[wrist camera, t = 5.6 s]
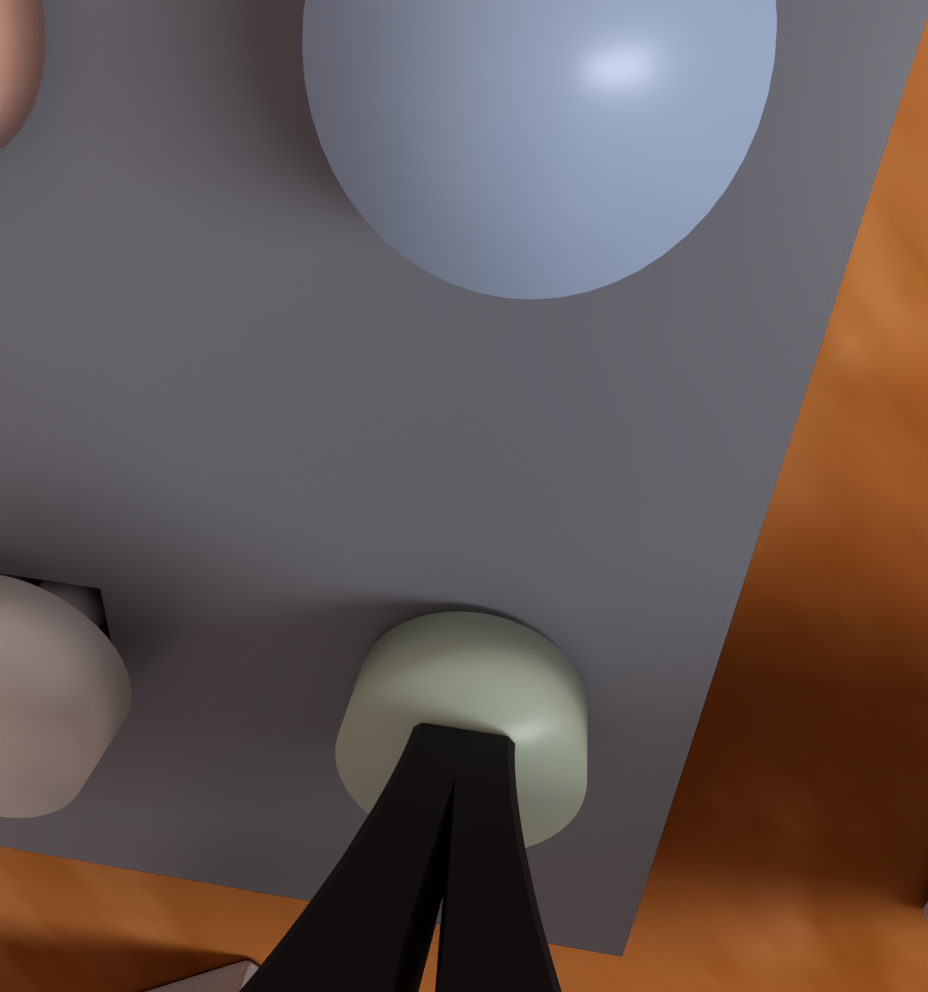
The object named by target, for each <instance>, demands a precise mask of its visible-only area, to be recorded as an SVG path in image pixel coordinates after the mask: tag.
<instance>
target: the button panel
mask: <svg viewBox="0 0 928 992" xmlns="http://www.w3.org/2000/svg"><path fill="white" fill-rule="evenodd" d="M41 1H42V9H43V17H44V26H45V57H44V66H43V74H42V79H41V83H40V87H39V91H38V95H37V98H36V100H35V103H34V105H33V107H32V110H31V112H30V115H29V116H28V118H27V119H26V121H25V123H24V124H23V126H22V127H21V129H20V131H19V132H18V133H17V134H16V135H15V136H14V137H13V138H12V140H11V141H10V142H9V143H8V144H7V145H5V146H4V147H3V148H2V149H0V575H3V576H8V577H12V578H15V579H18V580H21V581H25V582H27V583H30V584H32V585H35V586H37V587H38V586H39V585H40V584H41V583H42V582H43V580H47V581H53V582H60V583H67V584H73V585H80V586H86V587H93V588H100V589H101V594H102V599H103V604H104V609H105V614H106V620H105V621H104V622H103V623H102V625H101V626H100V627H99V629H100V630H101V631H102V632H103V633H104V634H105V635H106V636H107V638H108V639H109V640H110V642H111V643H112V644H113V646H114V647H115V648H116V650H117V652H118V653H119V655H120V657H121V658H122V660H123V662H124V664H125V667H126V669H127V671H128V675H129V678H130V682H131V689H132V701H131V707H130V710H129V713H128V715H127V717H126V719H125V721H124V723H123V724H122V726H121V727H120V729H119V730H118V732H117V734H116V735H115V737H114V738H113V740H112V741H111V743H110V745H109V746H108V748H107V749H106V751H105V752H104V754H103V755H102V757H101V759H100V760H99V762H98V763H97V765H96V766H95V768H94V770H93V771H92V773H91V774H90V776H89V777H88V779H87V781H86V782H85V784H84V785H83V787H82V788H81V790H80V791H79V793H78V794H77V796H76V797H75V798H74V799H73V800H72V801H71V802H70V803H69V804H67V805H66V806H65V807H63V808H61V809H59V810H57V811H55V812H52V813H49V814H46V815H42V816H36V817H28V818H7V817H0V846H1V847H6V848H12V849H18V850H23V851H29V852H35V853H40V854H46V855H52V856H57V857H63V858H68V859H74V860H80V861H85V862H91V863H97V864H102V865H108V866H114V867H119V868H125V869H131V870H136V871H142V872H147V873H153V874H159V875H164V876H170V877H176V878H181V879H187V880H193V881H198V882H204V883H210V884H215V885H221V886H226V887H232V888H238V889H243V890H249V891H255V892H260V893H266V894H272V895H277V896H283V897H289V898H294V899H300V900H305V901H311V900H312V898H313V897H314V896H315V894H316V893H317V891H318V890H319V889H320V887H321V886H322V884H323V883H324V882H325V880H326V879H327V877H328V876H329V875H330V873H331V872H332V870H333V869H334V868H335V866H336V865H337V863H338V862H339V860H340V859H341V857H342V856H343V854H344V853H345V851H346V850H347V848H348V847H349V845H350V844H351V842H352V840H353V839H354V837H355V836H356V834H357V832H358V831H359V829H360V828H361V826H362V824H363V823H364V821H365V820H366V818H367V816H368V814H367V813H366V812H365V811H364V810H363V809H362V808H361V807H360V806H359V805H358V804H357V803H356V801H355V800H354V799H353V798H352V797H351V795H350V794H349V792H348V791H347V789H346V788H345V786H344V784H343V782H342V780H341V778H340V776H339V772H338V769H337V765H336V757H335V748H336V741H337V737H338V734H339V730H340V727H341V725H342V722H343V719H344V716H345V713H346V710H347V707H348V704H349V701H350V698H351V696H352V693H353V690H354V687H355V684H356V681H357V678H358V675H359V672H360V669H361V667H362V664H363V661H364V659H365V657H366V655H367V653H368V652H369V650H370V649H371V648H372V646H373V645H374V644H375V643H376V642H377V641H378V640H379V639H380V638H381V637H382V636H383V635H384V634H386V633H387V632H388V631H390V630H391V629H393V628H394V627H396V626H398V625H400V624H402V623H404V622H406V621H409V620H412V619H414V618H417V617H420V616H424V615H429V614H433V613H441V612H463V611H465V612H476V613H484V614H489V615H494V616H498V617H502V618H505V619H508V620H511V621H514V622H516V623H519V624H521V625H524V626H526V627H528V628H530V629H532V630H534V631H535V632H537V633H539V634H541V635H542V636H544V637H545V638H546V639H548V640H549V641H551V642H552V643H553V644H555V645H556V646H557V647H558V648H559V649H560V650H561V651H562V652H563V653H564V654H565V655H566V656H567V657H568V658H569V660H570V661H571V662H572V663H573V665H574V666H575V668H576V669H577V671H578V673H579V674H580V676H581V679H582V681H583V683H584V686H585V690H586V694H587V700H588V744H587V786H586V794H585V797H584V800H583V803H582V805H581V807H580V809H579V811H578V812H577V814H576V815H575V817H574V818H573V819H572V820H571V821H570V823H569V824H568V825H566V826H565V827H564V828H563V829H562V830H561V831H559V832H558V833H556V834H555V835H553V836H552V837H550V838H548V839H546V840H544V841H542V842H540V843H538V844H535V845H532V846H529V847H526V848H525V849H526V854H527V859H528V864H529V868H530V873H531V878H532V882H533V887H534V892H535V896H536V900H537V905H538V909H539V913H540V917H541V921H542V925H543V928H544V932H545V936H546V939H547V943H548V944H554V945H559V946H565V947H571V948H576V949H582V950H588V951H593V952H599V953H605V954H610V955H616V956H622V955H623V952H624V949H625V946H626V943H627V940H628V937H629V934H630V931H631V928H632V924H633V921H634V918H635V915H636V912H637V909H638V906H639V903H640V900H641V897H642V894H643V891H644V887H645V884H646V881H647V878H648V875H649V872H650V869H651V866H652V863H653V860H654V857H655V854H656V851H657V847H658V844H659V841H660V838H661V835H662V832H663V829H664V826H665V823H666V820H667V817H668V814H669V810H670V807H671V804H672V801H673V798H674V795H675V792H676V789H677V786H678V783H679V780H680V777H681V774H682V770H683V767H684V764H685V761H686V758H687V755H688V752H689V749H690V746H691V743H692V740H693V737H694V733H695V730H696V727H697V724H698V721H699V718H700V715H701V712H702V709H703V706H704V703H705V700H706V697H707V693H708V690H709V687H710V684H711V681H712V678H713V675H714V672H715V669H716V666H717V663H718V660H719V657H720V653H721V650H722V647H723V644H724V641H725V638H726V635H727V632H728V629H729V626H730V623H731V620H732V616H733V613H734V610H735V607H736V604H737V601H738V598H739V595H740V592H741V589H742V586H743V583H744V580H745V576H746V573H747V570H748V567H749V564H750V561H751V558H752V555H753V552H754V549H755V546H756V543H757V539H758V536H759V533H760V530H761V527H762V524H763V521H764V518H765V515H766V512H767V509H768V506H769V503H770V499H771V496H772V493H773V490H774V487H775V484H776V481H777V478H778V475H779V472H780V469H781V466H782V462H783V459H784V456H785V453H786V450H787V447H788V444H789V441H790V438H791V435H792V432H793V429H794V426H795V422H796V419H797V416H798V413H799V410H800V407H801V404H802V401H803V398H804V395H805V392H806V389H807V385H808V382H809V379H810V376H811V373H812V370H813V367H814V364H815V361H816V358H817V355H818V352H819V349H820V345H821V342H822V339H823V336H824V333H825V330H826V327H827V324H828V321H829V318H830V315H831V312H832V309H833V305H834V302H835V299H836V296H837V293H838V290H839V287H840V284H841V281H842V278H843V275H844V272H845V268H846V265H847V262H848V259H849V256H850V253H851V250H852V247H853V244H854V241H855V238H856V235H857V232H858V228H859V225H860V222H861V219H862V216H863V213H864V210H865V207H866V204H867V201H868V198H869V195H870V191H871V188H872V185H873V182H874V179H875V176H876V173H877V170H878V167H879V164H880V161H881V158H882V155H883V151H884V148H885V145H886V142H887V139H888V136H889V133H890V130H891V127H892V124H893V121H894V118H895V114H896V111H897V108H898V105H899V102H900V99H901V96H902V93H903V90H904V87H905V84H906V81H907V78H908V74H909V71H910V68H911V65H912V62H913V59H914V56H915V53H916V50H917V47H918V44H919V41H920V37H921V34H922V31H923V28H924V25H925V22H926V19H927V16H928V0H776V12H777V31H776V47H775V60H774V66H773V71H772V76H771V82H770V87H769V93H768V97H767V100H766V103H765V106H764V109H763V113H762V116H761V119H760V122H759V126H758V129H757V131H756V133H755V135H754V138H753V140H752V142H751V144H750V147H749V149H748V151H747V154H746V156H745V158H744V160H743V162H742V163H741V165H740V167H739V169H738V170H737V172H736V174H735V175H734V177H733V179H732V180H731V182H730V184H729V186H728V187H727V189H726V190H725V191H724V193H723V194H722V195H721V197H720V198H719V199H718V201H717V202H716V203H715V205H714V206H713V207H712V209H711V210H710V211H709V213H708V214H707V215H706V216H705V217H704V218H703V219H702V220H701V221H700V222H699V223H698V224H697V225H696V226H695V227H694V228H693V229H692V231H691V232H690V233H689V234H688V235H687V236H686V237H684V238H683V239H682V240H681V241H680V242H678V243H677V244H676V245H675V246H674V247H672V248H671V249H670V250H669V251H667V252H666V253H665V254H664V255H662V256H661V257H659V258H658V259H656V260H655V261H653V262H652V263H650V264H648V265H647V266H645V267H644V268H642V269H641V270H639V271H637V272H635V273H633V274H631V275H629V276H627V277H625V278H623V279H621V280H619V281H616V282H614V283H612V284H609V285H606V286H603V287H600V288H597V289H594V290H591V291H588V292H585V293H580V294H575V295H570V296H565V297H560V298H547V299H533V300H532V299H514V298H503V297H498V296H492V295H487V294H481V293H478V292H475V291H471V290H468V289H465V288H462V287H459V286H456V285H453V284H451V283H449V282H447V281H445V280H443V279H440V278H438V277H436V276H434V275H432V274H430V273H428V272H427V271H425V270H423V269H422V268H420V267H419V266H417V265H415V264H414V263H412V262H411V261H409V260H408V259H406V258H405V257H404V256H403V255H401V254H400V253H399V252H398V251H396V250H395V249H394V248H393V247H391V246H390V245H389V244H388V243H387V242H385V241H384V240H383V238H382V237H381V236H380V235H379V234H378V233H377V232H376V231H375V230H374V229H373V228H372V227H371V226H370V225H369V224H368V223H367V222H366V221H365V219H364V218H363V217H362V215H361V214H360V213H359V212H358V210H357V209H356V208H355V206H354V205H353V204H352V202H351V201H350V200H349V198H348V197H347V195H346V193H345V192H344V190H343V188H342V187H341V185H340V183H339V181H338V180H337V178H336V176H335V175H334V173H333V171H332V169H331V166H330V164H329V162H328V160H327V157H326V155H325V153H324V151H323V148H322V146H321V144H320V141H319V137H318V134H317V131H316V128H315V125H314V122H313V118H312V115H311V111H310V106H309V101H308V96H307V91H306V85H305V78H304V66H303V54H302V35H303V12H304V5H305V0H41ZM442 898H443V897H442ZM441 911H442V901H441V905H440V909H439V913H438V917H437V921H436V924H441Z"/></svg>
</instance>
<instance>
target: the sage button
mask: <svg viewBox="0 0 928 992" xmlns="http://www.w3.org/2000/svg"><path fill="white" fill-rule="evenodd" d="M420 723H428V724H435V725H441V726H447V727H453V728H460V729H466V730H472V731H478V732H485V733H491V734H497V735H503V736H509V737H510V738H511V739H512V741H513V742H514V743H515V775H516V788H517V797H518V805H519V812H520V819H521V826H522V833H523V838H524V844H525V848H526V847H529V846H532V845H535V844H538V843H540V842H542V841H544V840H546V839H548V838H550V837H552V836H553V835H555V834H556V833H558V832H559V831H561V830H562V829H563V828H564V827H565V826H566V825H568V824H569V823H570V821H571V820H572V819H573V818H574V817H575V815H576V814H577V812H578V811H579V809H580V807H581V805H582V803H583V800H584V797H585V794H586V786H587V744H588V700H587V694H586V690H585V686H584V683H583V681H582V679H581V676H580V674H579V673H578V671H577V669H576V668H575V666H574V665H573V663H572V662H571V661H570V660H569V658H568V657H567V656H566V655H565V654H564V653H563V652H562V651H561V650H560V649H559V648H558V647H557V646H556V645H555V644H553V643H552V642H551V641H549V640H548V639H546V638H545V637H544V636H542V635H541V634H539V633H537V632H535V631H534V630H532V629H530V628H528V627H526V626H524V625H521V624H519V623H516V622H514V621H511V620H508V619H505V618H502V617H498V616H494V615H489V614H484V613H476V612H465V611H463V612H441V613H433V614H429V615H424V616H420V617H417V618H414V619H412V620H409V621H406V622H404V623H402V624H400V625H398V626H396V627H394V628H393V629H391V630H390V631H388V632H387V633H386V634H384V635H383V636H382V637H381V638H380V639H379V640H378V641H377V642H376V643H375V644H374V645H373V646H372V648H371V649H370V650H369V652H368V653H367V655H366V657H365V659H364V661H363V664H362V667H361V669H360V672H359V675H358V678H357V681H356V684H355V687H354V690H353V693H352V696H351V698H350V701H349V704H348V707H347V710H346V713H345V716H344V719H343V722H342V725H341V727H340V730H339V734H338V737H337V741H336V748H335V757H336V765H337V769H338V772H339V776H340V778H341V780H342V782H343V784H344V786H345V788H346V789H347V791H348V792H349V794H350V795H351V797H352V798H353V799H354V800H355V801H356V803H357V804H358V805H359V806H360V807H361V808H362V809H363V810H364V811H365V812H366V813H367V814H368V815H369V813H370V812H371V810H372V808H373V807H374V805H375V803H376V802H377V800H378V798H379V796H380V795H381V793H382V791H383V789H384V788H385V786H386V784H387V782H388V780H389V779H390V777H391V775H392V773H393V771H394V769H395V767H396V765H397V763H398V761H399V759H400V757H401V755H402V753H403V751H404V749H405V746H406V744H407V742H408V739H409V737H410V734H411V732H412V729H413V727H414V726H416V725H418V724H420Z"/></svg>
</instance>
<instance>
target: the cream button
mask: <svg viewBox="0 0 928 992" xmlns="http://www.w3.org/2000/svg"><path fill="white" fill-rule="evenodd" d="M105 620H106V614H105V609H104V604H103V599H102V594H101V589H100V588H93V587H86V586H80V585H73V584H67V583H60V582H53V581H47V580H43V582H42V583H41V584H40V585H39V586H38V587H37V586H35V585H32V584H30V583H27V582H25V581H21V580H18V579H15V578H12V577H8V576H3V575H0V817H7V818H28V817H36V816H42V815H46V814H49V813H52V812H55V811H57V810H59V809H61V808H63V807H65V806H66V805H67V804H69V803H70V802H71V801H72V800H73V799H74V798H75V797H76V796H77V794H78V793H79V791H80V790H81V788H82V787H83V785H84V784H85V782H86V781H87V779H88V777H89V776H90V774H91V773H92V771H93V770H94V768H95V766H96V765H97V763H98V762H99V760H100V759H101V757H102V755H103V754H104V752H105V751H106V749H107V748H108V746H109V745H110V743H111V741H112V740H113V738H114V737H115V735H116V734H117V732H118V730H119V729H120V727H121V726H122V724H123V723H124V721H125V719H126V717H127V715H128V713H129V710H130V707H131V701H132V689H131V682H130V678H129V675H128V671H127V669H126V667H125V664H124V662H123V660H122V658H121V657H120V655H119V653H118V652H117V650H116V648H115V647H114V646H113V644H112V643H111V642H110V640H109V639H108V638H107V636H106V635H105V634H104V633H103V632H102V631H101V630H100V629H99V627H100V626H101V625H102V623H103V622H104V621H105Z"/></svg>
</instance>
